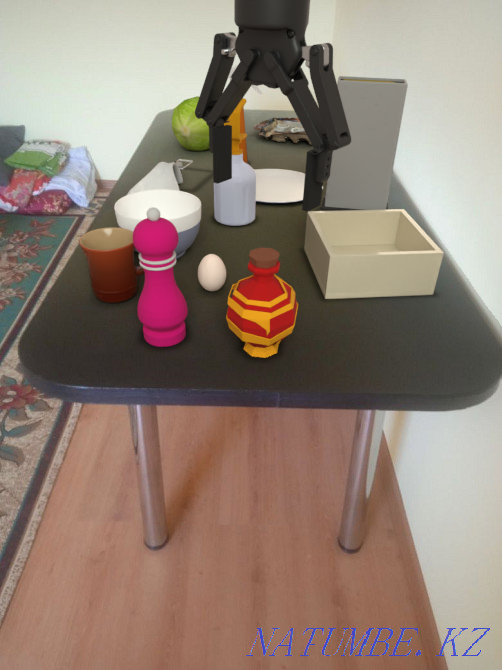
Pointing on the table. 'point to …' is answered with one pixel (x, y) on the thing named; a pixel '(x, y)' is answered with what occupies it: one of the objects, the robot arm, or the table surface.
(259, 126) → the grey piece
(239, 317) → the potion bottle
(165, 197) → the bowl
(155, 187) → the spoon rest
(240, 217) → the white cleaner bottle
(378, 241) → the cream open box
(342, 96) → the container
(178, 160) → the binder clip
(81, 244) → the mug
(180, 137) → the lettuce
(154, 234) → the pepper mill
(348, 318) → the table surface
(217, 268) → the egg
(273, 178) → the plate
